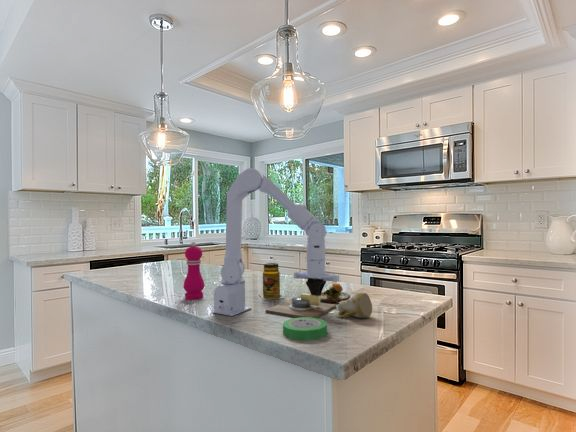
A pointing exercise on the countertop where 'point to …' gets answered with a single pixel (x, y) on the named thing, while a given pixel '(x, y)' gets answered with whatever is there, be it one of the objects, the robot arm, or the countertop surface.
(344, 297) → the plate of food
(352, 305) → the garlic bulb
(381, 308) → the countertop surface
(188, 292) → the pepper mill
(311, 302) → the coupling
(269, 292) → the condiment
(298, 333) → the tape roll
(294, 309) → the post base
